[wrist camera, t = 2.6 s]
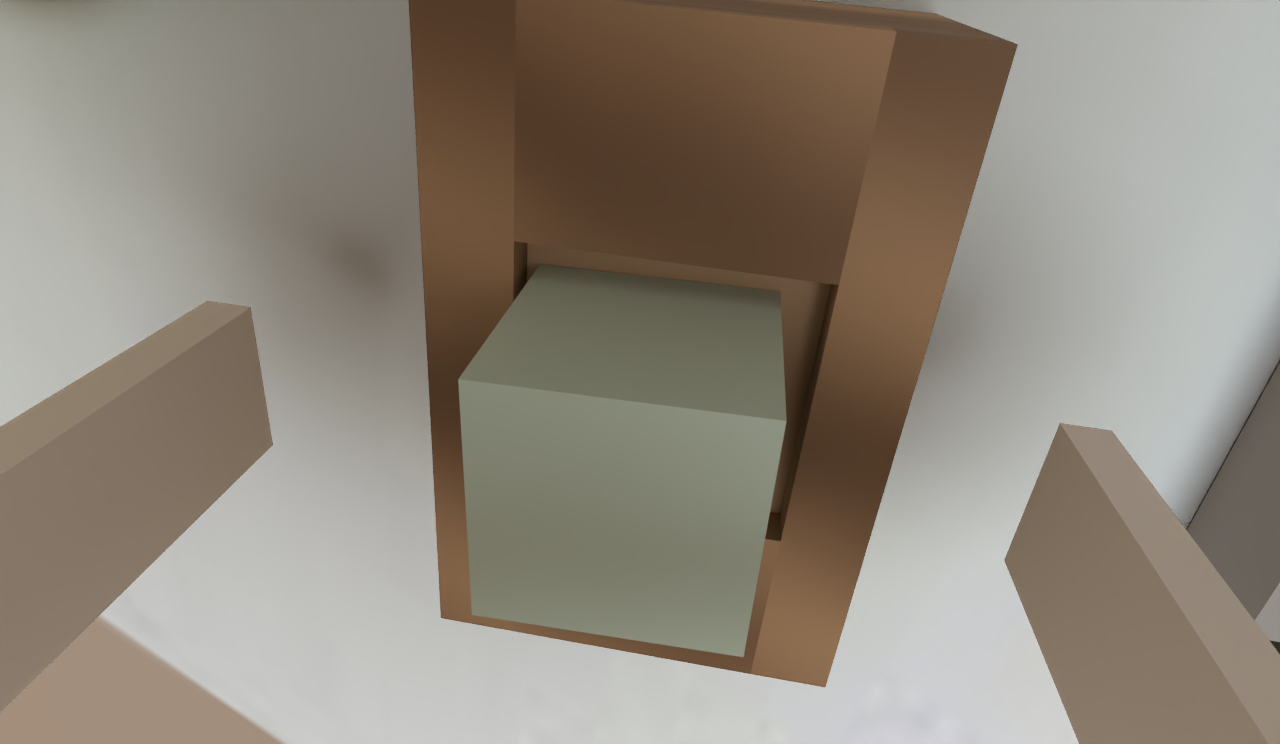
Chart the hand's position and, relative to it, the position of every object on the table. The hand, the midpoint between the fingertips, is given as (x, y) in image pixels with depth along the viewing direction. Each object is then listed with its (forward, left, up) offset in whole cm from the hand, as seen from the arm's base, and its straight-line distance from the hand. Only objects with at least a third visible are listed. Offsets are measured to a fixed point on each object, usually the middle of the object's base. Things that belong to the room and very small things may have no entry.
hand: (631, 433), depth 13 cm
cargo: (0, 0, -1) cm, 1 cm away
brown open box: (0, 0, -6) cm, 6 cm away
